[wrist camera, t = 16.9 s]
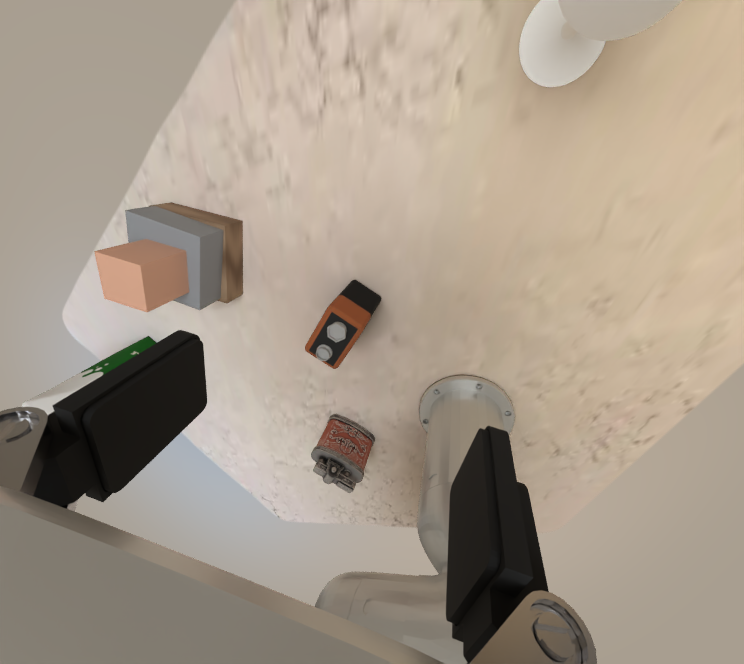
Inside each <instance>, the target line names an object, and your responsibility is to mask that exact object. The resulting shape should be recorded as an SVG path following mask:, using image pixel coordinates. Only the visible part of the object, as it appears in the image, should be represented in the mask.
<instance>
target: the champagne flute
mask: <svg viewBox="0 0 744 664" xmlns="http://www.w3.org/2000/svg"><path fill="white" fill-rule="evenodd" d="M681 1H682V0H541V1H540V2H539V3H538V4H537V5H536V6H535V7H534V9H533V10H532V12H531V13H530V15H529V16H528V19H527V21H526V23H525V25H524V27H523V31H522V34H521V38H520V44H519V56H520V62H521V65H522V68H523V70H524V72H525V73H526V75H527V76H528V78H529V79H531V80H532V81H533V82H534V83H536V84H538V85H540V86H544V87H559V86H563V85H566V84H568V83H570V82H572V81H574V80H576V79H577V78H579V77H580V76H582V75H583V74H584V73H585V72H586V71H587V70H588V69H589V68H590V67H591V66H592V65H593V63H594V62H595V61H596V60H597V58H598V56H599V55H600V53H601V51H602V49H603V47H604V45H605V42H606V41H611V40H620V39H623V38H627V37H630V36H634V35H636V34H638V33H640V32H642V31H644V30H646V29H648V28H650V27H651V26H652V25H654V24H655V23H657V22H658V21H660V20H661V19H663V18H664V17H665V16H666V15H667V14H668V13H669V12H671V11H672V10H673V9H674V8H675V7H676V6H677V5H678V4H679V3H680V2H681Z"/></svg>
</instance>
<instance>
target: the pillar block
mask: <svg viewBox="0 0 744 664" xmlns="http://www.w3.org/2000/svg"><path fill="white" fill-rule="evenodd" d="M94 252H95V256H96V261H97V266H98V270H99V275H100V280H101V284H102V289H103V294H104V298H105V299H108V300H111V301H114V302H117V303H120V304H123V305H126V306H129V307H132V308H135V309H139V310H142V311H145V312H149V311H151V310H153V309H155V308H157V307H159V306H161V305H164V304H166V303H168V302H170V301H172V300H174V299H176V298H178V297H180V296H182V295H184V294H186V293H189V281H188V267H187V254H186V250H182V249H179V248H175V247H172V246H169V245H165V244H162V243H159V242H155V241H152V240H148V239H143V240H139V241H135V242H131V243H127V244H123V245H119V246H115V247H111V248H107V249H102V250H98V251H94Z"/></svg>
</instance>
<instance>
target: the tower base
mask: <svg viewBox="0 0 744 664" xmlns="http://www.w3.org/2000/svg"><path fill="white" fill-rule="evenodd" d="M151 206H157V207H159V208H162V209H165V210H168V211H171V212H174V213H176V214H179V215H182V216H185V217H188V218H190V219H193V220H196V221H199V222H202V223H204V224H207V225H210V226H213V227H216V228H219V229H221V230H224V231H223V255H222V280H221V298H220V299H218V300H217V301H221V302H224V303H229V302H230V301H232V300H234V299H235V298H237V297H238V296H240V295H242V294H243V225H242V221H241V220H237V219H233V218H229V217H225V216H221V215H218V214H214V213H210V212H206V211H202V210H198V209H194V208H190V207H187V206H183V205H179V204H175V203H165V204H158V205H151ZM151 206H149V207H151Z"/></svg>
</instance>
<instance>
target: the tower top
mask: <svg viewBox="0 0 744 664" xmlns="http://www.w3.org/2000/svg"><path fill="white" fill-rule="evenodd" d="M125 212H126V222H127V231H128V241H129V243H131V242H135V241H139V240H143V239H148V240H152V241H155V242H159V243H162V244H165V245H169V246H172V247H175V248H179V249H182V250H186V254H187V267H188V281H189V293H186V294H184V295H182V296H180V297H178V298H176V299H174V301H177V302H179V303H182V304H185V305H187V306H190V307H193V308H195V309H198V310H201V309H203V308H204V307H206V306H208V305H210V304H211V303H213V302H215V301H217V300H218V299H220V298H221V280H222V255H223V231H224V230H221V229H219V228H216V227H213V226H210V225H207V224H204V223H202V222H199V221H196V220H193V219H190V218H188V217H185V216H182V215H179V214H176V213H174V212H171V211H168V210H165V209H162V208H159V207H157V206H151V207H144V208H137V209H130V210H125Z"/></svg>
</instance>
